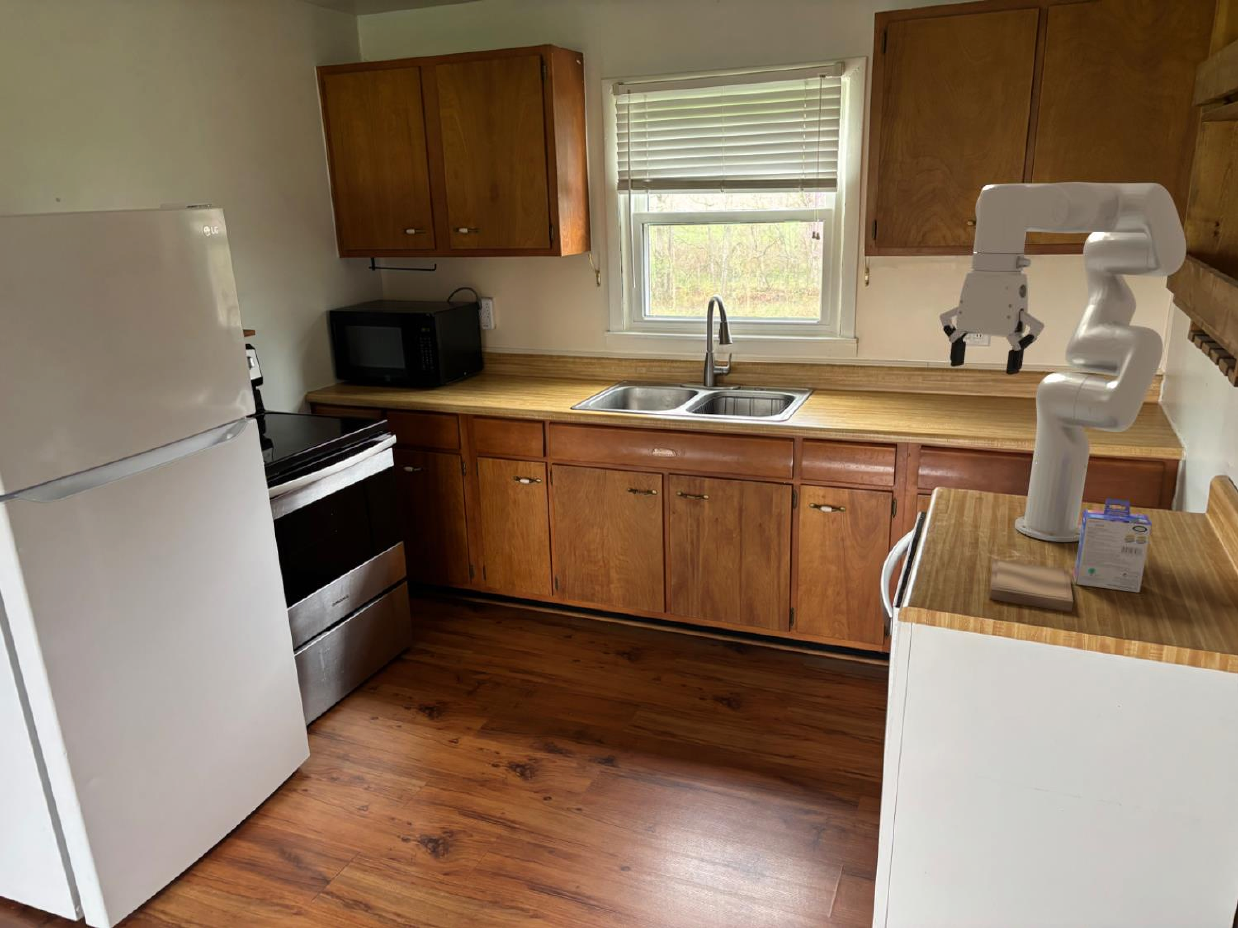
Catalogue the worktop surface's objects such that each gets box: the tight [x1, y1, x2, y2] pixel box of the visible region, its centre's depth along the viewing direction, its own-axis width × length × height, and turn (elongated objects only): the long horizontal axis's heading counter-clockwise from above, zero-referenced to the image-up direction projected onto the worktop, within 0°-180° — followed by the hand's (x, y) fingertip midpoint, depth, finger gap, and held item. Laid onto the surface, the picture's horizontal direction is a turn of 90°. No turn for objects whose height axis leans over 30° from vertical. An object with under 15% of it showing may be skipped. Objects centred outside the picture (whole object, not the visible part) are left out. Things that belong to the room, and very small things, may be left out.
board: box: [989, 558, 1074, 613], centre depth 149 cm, size 14×12×2 cm
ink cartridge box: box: [1073, 498, 1153, 594], centre depth 149 cm, size 10×6×14 cm, turn 70°
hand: (984, 369), depth 148 cm, fingers open, 9 cm apart
